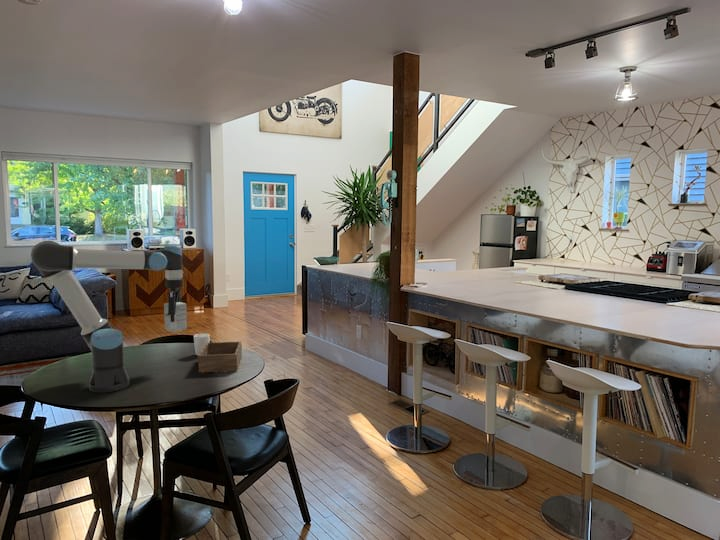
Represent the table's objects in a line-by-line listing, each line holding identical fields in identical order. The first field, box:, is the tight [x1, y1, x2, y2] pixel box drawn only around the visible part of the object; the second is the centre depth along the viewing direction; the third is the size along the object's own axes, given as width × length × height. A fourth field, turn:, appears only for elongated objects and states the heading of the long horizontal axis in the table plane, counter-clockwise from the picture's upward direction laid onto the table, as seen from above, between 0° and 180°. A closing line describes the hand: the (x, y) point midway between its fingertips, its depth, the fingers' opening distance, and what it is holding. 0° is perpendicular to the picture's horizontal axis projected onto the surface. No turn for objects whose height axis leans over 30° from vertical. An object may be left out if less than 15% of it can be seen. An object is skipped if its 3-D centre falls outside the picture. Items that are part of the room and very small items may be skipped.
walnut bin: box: [197, 341, 243, 373], centre depth 245 cm, size 24×17×8 cm
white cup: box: [193, 333, 211, 356], centre depth 263 cm, size 8×8×10 cm
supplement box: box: [163, 301, 188, 333], centre depth 240 cm, size 7×7×13 cm
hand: (175, 326), depth 240 cm, fingers closed on supplement box, 10 cm apart
